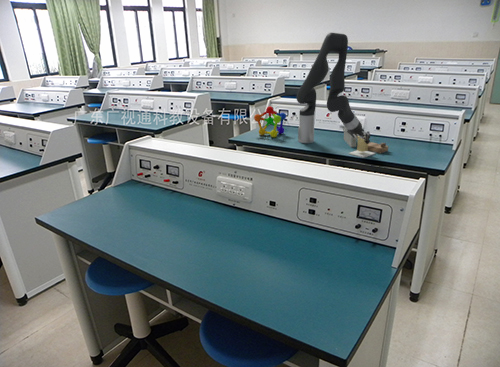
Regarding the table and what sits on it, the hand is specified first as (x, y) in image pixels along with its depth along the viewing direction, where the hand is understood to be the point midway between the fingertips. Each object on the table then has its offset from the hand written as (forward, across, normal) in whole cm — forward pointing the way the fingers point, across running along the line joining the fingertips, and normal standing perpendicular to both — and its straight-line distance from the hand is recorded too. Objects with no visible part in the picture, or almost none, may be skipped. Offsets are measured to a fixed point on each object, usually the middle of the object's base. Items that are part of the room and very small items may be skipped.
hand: (365, 141), depth 199 cm
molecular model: (-3, +70, +12) cm, 71 cm away
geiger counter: (+13, +22, -4) cm, 26 cm away
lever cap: (+2, 0, +5) cm, 5 cm away
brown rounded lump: (+11, 0, -2) cm, 11 cm away
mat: (+3, 0, +6) cm, 7 cm away
